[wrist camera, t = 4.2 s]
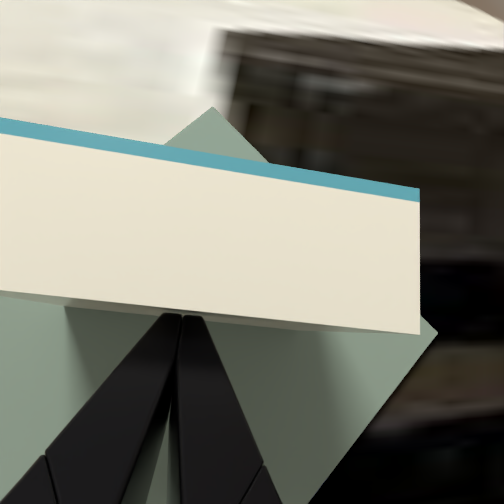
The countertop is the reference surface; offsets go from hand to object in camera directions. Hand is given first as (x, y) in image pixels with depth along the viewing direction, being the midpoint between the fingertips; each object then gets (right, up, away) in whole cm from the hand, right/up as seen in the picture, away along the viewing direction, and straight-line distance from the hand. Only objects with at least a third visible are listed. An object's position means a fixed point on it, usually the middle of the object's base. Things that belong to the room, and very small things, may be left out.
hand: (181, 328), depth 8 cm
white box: (-1, 0, +7) cm, 7 cm away
